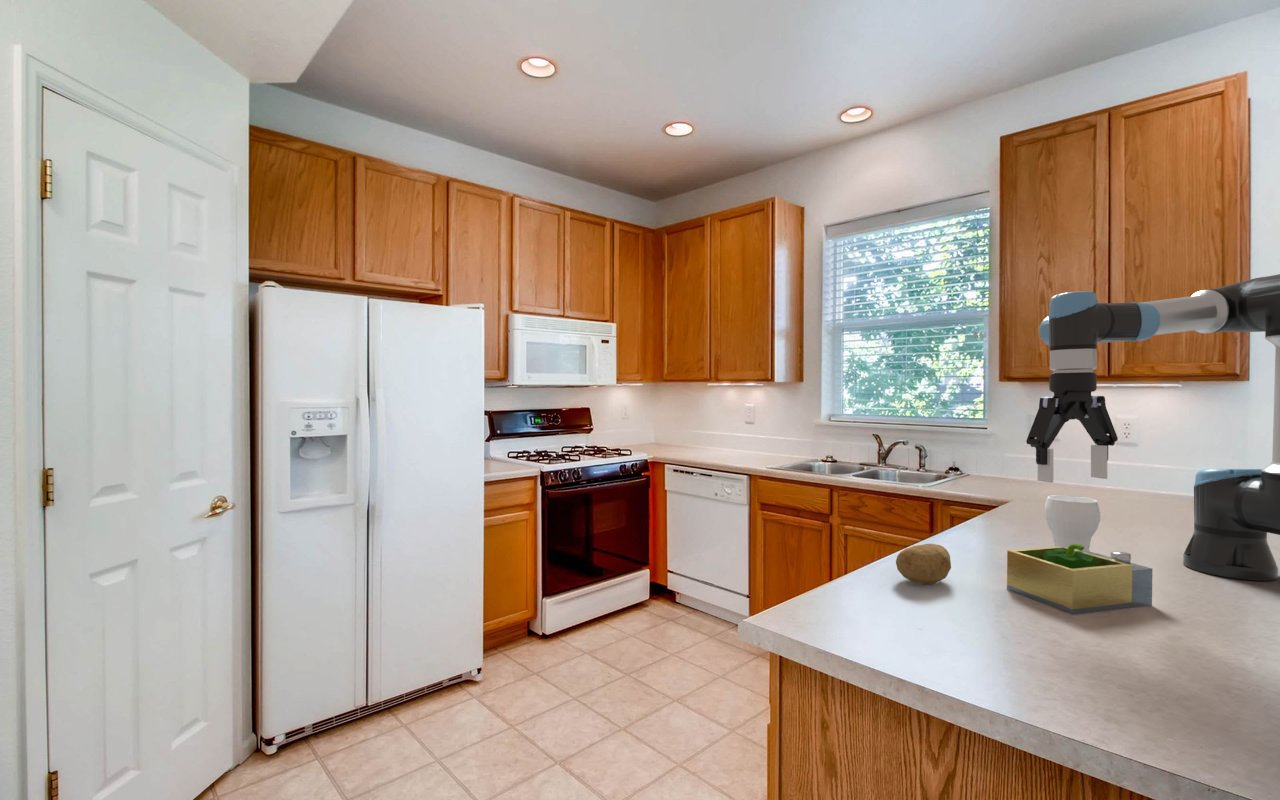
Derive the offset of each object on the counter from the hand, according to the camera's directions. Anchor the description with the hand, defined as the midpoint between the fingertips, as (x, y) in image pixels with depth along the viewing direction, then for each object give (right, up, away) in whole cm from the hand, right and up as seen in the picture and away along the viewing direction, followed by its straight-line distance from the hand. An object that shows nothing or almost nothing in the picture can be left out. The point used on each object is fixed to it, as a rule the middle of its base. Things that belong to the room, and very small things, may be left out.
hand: (1072, 479), depth 117 cm
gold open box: (0, -23, -1) cm, 23 cm away
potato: (-25, -23, +8) cm, 35 cm away
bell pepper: (-2, -22, -1) cm, 22 cm away
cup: (+17, -23, +23) cm, 36 cm away
